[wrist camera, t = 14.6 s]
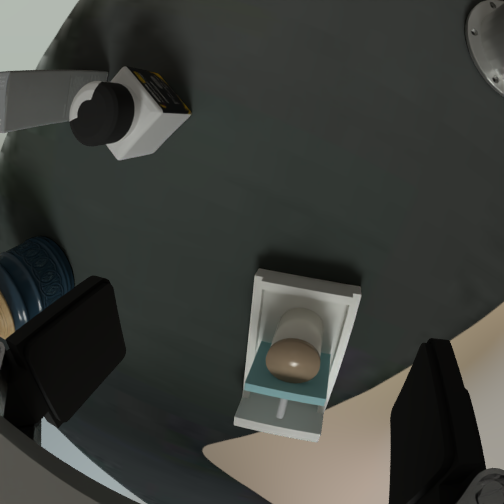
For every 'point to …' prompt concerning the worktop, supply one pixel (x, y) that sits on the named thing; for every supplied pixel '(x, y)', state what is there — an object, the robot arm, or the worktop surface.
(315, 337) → the jar
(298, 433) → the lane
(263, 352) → the pusher
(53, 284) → the canister
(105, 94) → the medicine bottle
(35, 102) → the skincare box
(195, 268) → the worktop surface
